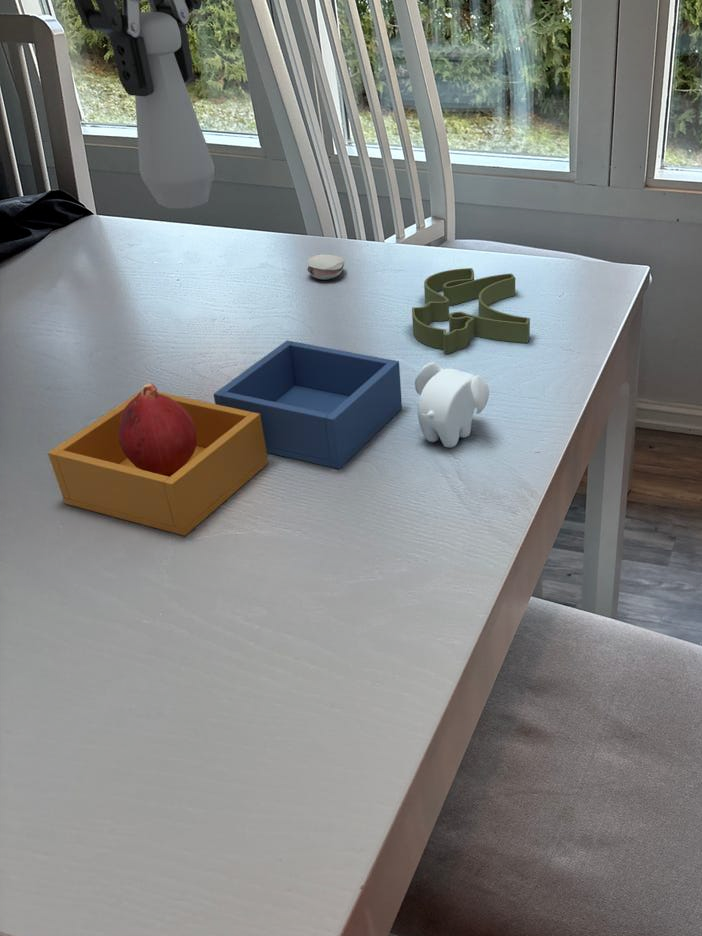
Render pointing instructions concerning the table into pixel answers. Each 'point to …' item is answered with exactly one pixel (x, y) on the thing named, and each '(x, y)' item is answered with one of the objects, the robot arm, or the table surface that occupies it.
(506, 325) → the cookie cutter
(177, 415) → the red pomegranate
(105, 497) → the ochre bin
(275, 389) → the blue bin
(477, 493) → the table surface
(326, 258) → the macaroon
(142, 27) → the salt shaker
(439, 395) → the elephant figurine
